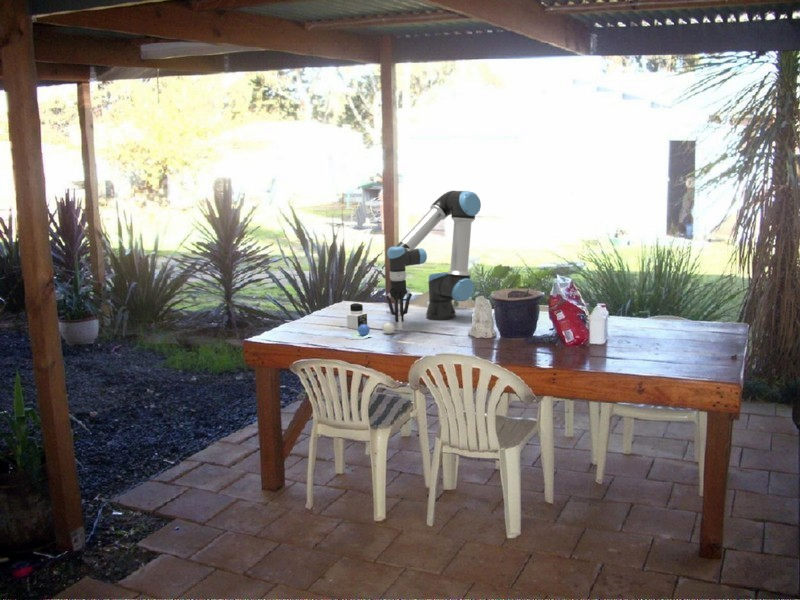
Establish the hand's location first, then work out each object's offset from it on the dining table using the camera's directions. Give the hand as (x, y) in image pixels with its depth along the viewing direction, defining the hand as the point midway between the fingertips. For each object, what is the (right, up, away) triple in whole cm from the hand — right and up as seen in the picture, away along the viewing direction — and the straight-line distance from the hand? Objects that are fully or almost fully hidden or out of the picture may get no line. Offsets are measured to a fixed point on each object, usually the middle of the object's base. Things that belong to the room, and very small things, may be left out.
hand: (399, 328), depth 388 cm
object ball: (-17, -1, -4) cm, 17 cm away
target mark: (-19, -3, -4) cm, 20 cm away
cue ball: (-5, 0, -2) cm, 6 cm away
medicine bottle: (-21, 0, +15) cm, 26 cm away
